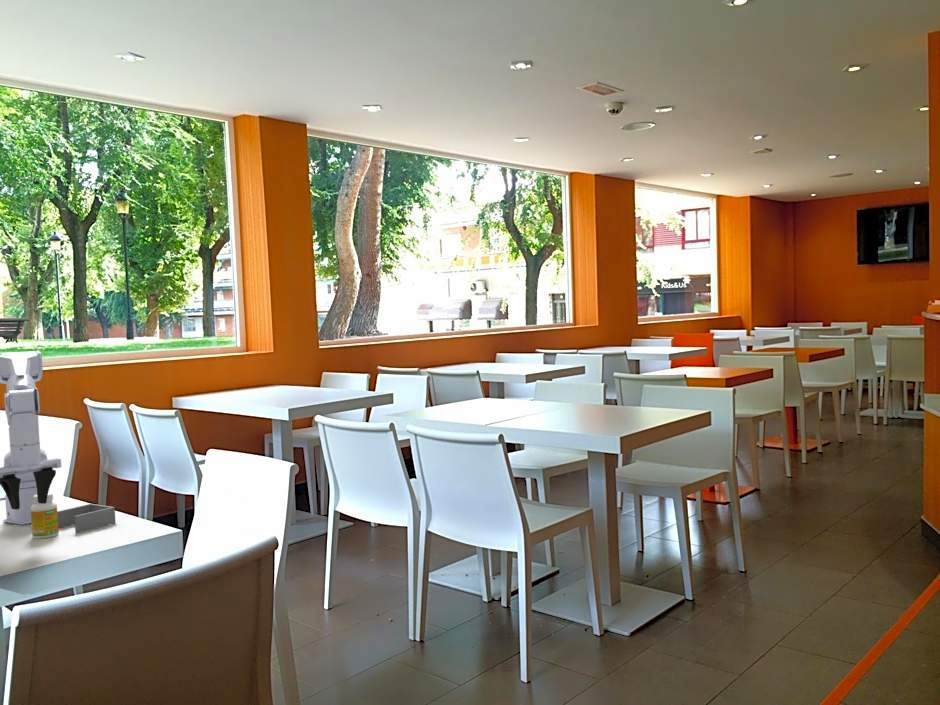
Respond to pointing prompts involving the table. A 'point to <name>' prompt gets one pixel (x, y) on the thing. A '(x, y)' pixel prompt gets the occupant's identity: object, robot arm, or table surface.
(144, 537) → the table surface
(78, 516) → the crate
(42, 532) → the supplement bottle
